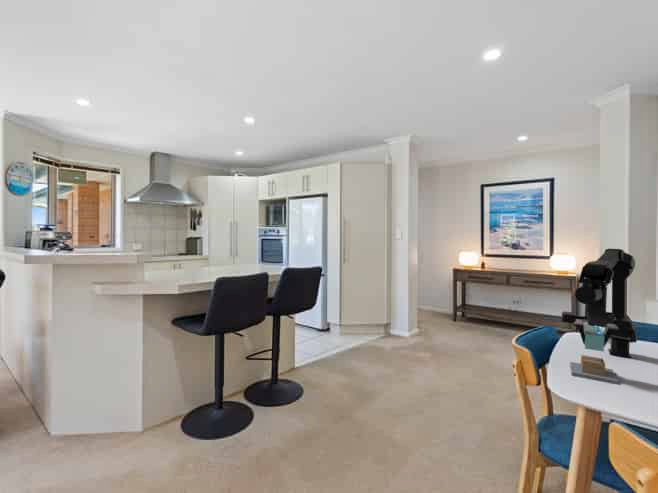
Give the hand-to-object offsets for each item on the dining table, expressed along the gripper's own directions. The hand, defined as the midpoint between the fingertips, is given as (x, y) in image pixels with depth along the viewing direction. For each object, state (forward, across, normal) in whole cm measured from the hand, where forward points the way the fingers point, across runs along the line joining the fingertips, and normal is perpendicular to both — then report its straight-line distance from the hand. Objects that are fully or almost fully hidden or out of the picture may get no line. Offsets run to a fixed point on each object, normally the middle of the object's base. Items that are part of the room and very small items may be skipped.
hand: (593, 345), depth 117 cm
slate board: (+10, 0, 0) cm, 10 cm away
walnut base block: (+10, 0, 0) cm, 10 cm away
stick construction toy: (+11, +6, +48) cm, 50 cm away
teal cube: (+1, 0, 0) cm, 1 cm away
